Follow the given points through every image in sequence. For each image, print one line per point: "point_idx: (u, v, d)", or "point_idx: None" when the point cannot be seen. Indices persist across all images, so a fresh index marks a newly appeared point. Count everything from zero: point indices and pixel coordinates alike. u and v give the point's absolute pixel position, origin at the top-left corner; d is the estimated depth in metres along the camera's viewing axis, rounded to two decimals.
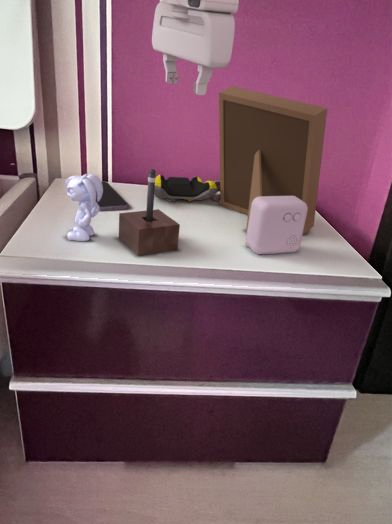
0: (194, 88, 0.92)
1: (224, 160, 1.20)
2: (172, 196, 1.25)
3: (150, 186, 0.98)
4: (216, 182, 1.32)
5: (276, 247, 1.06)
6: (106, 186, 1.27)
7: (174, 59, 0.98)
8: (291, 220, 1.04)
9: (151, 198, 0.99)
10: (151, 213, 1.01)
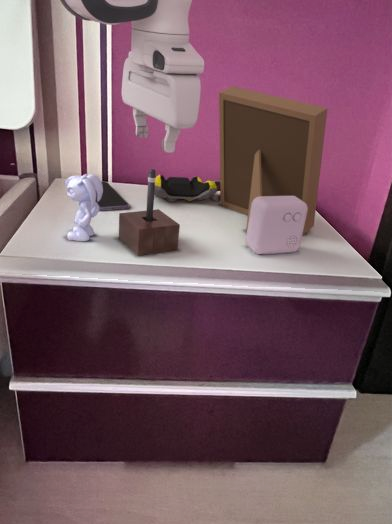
0: (162, 146, 0.91)
1: (224, 160, 1.20)
2: (172, 196, 1.25)
3: (150, 186, 0.98)
4: (215, 182, 1.31)
5: (276, 247, 1.06)
6: (106, 186, 1.27)
7: (144, 113, 0.97)
8: (291, 220, 1.04)
9: (151, 198, 0.99)
10: (151, 213, 1.01)
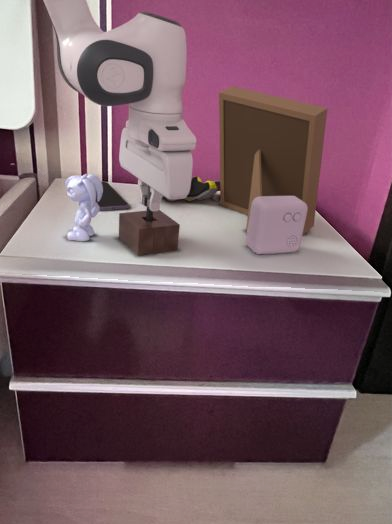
0: (148, 205, 0.99)
1: (224, 160, 1.20)
2: None
3: None
4: (215, 182, 1.31)
5: (276, 247, 1.06)
6: (106, 186, 1.27)
7: None
8: (291, 220, 1.04)
9: None
10: (151, 212, 1.01)
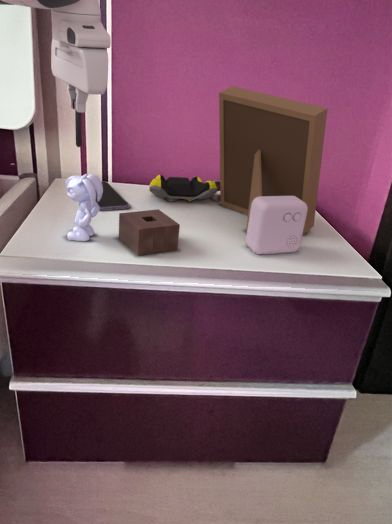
0: (75, 106, 1.09)
1: (224, 160, 1.20)
2: (172, 196, 1.25)
3: None
4: (215, 182, 1.31)
5: (276, 247, 1.06)
6: (106, 186, 1.27)
7: None
8: (291, 220, 1.04)
9: None
10: (79, 115, 1.11)
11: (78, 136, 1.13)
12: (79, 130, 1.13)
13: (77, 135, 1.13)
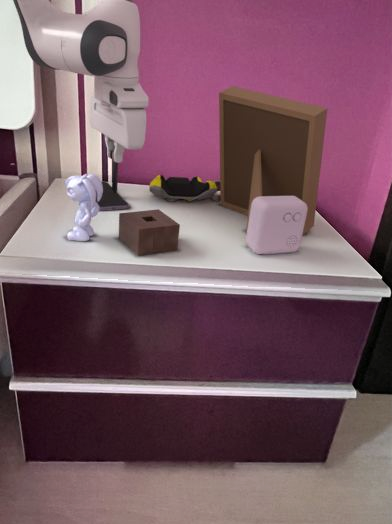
0: (113, 157, 1.19)
1: (224, 160, 1.20)
2: (172, 196, 1.25)
3: None
4: (215, 182, 1.31)
5: (276, 247, 1.06)
6: (106, 186, 1.27)
7: None
8: (291, 220, 1.04)
9: None
10: (116, 164, 1.21)
11: (114, 183, 1.23)
12: (115, 177, 1.22)
13: (113, 182, 1.23)
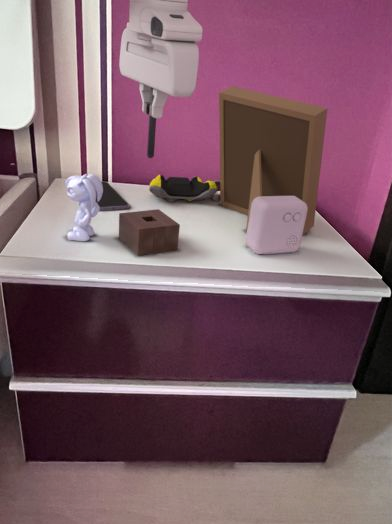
0: (150, 111, 0.93)
1: (224, 160, 1.20)
2: (172, 196, 1.25)
3: None
4: (215, 182, 1.31)
5: (276, 247, 1.06)
6: (106, 186, 1.27)
7: None
8: (291, 220, 1.04)
9: None
10: (154, 121, 0.95)
11: (151, 146, 0.97)
12: (152, 139, 0.96)
13: (150, 144, 0.97)
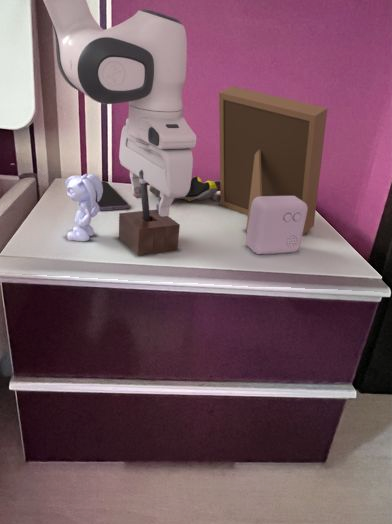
0: (157, 210, 0.97)
1: (224, 160, 1.20)
2: None
3: (142, 187, 0.98)
4: (215, 182, 1.31)
5: (276, 247, 1.06)
6: (106, 186, 1.27)
7: None
8: (291, 220, 1.04)
9: (145, 199, 0.99)
10: (147, 213, 1.01)
11: None
12: None
13: None
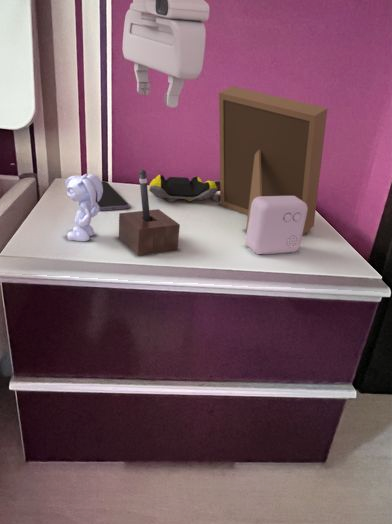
0: (165, 100, 0.87)
1: (224, 160, 1.20)
2: (172, 196, 1.25)
3: (142, 187, 0.98)
4: (215, 182, 1.31)
5: (276, 247, 1.06)
6: (106, 186, 1.27)
7: (146, 68, 0.93)
8: (291, 220, 1.04)
9: (145, 199, 0.99)
10: (147, 213, 1.01)
11: None
12: None
13: None
